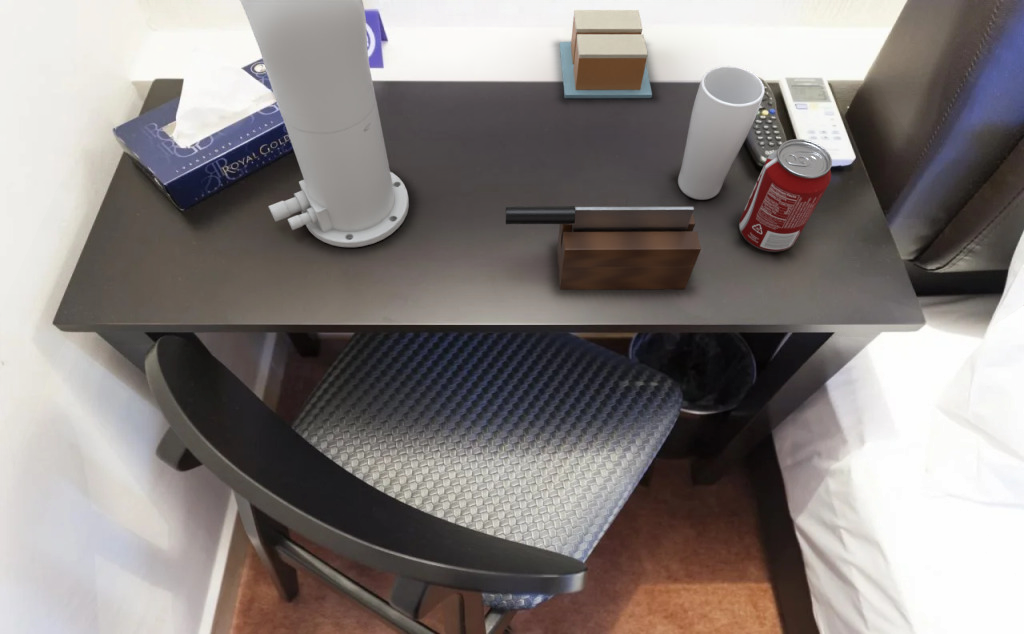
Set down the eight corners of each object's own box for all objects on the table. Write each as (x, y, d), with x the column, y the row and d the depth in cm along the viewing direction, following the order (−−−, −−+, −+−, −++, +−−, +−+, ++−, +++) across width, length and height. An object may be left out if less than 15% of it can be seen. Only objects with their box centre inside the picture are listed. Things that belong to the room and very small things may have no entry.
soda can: (796, 260, 76) (840, 185, 66) (736, 250, 77) (771, 175, 67) (794, 216, 80) (836, 139, 70) (737, 207, 81) (770, 130, 71)
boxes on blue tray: (564, 98, 91) (568, 59, 86) (559, 45, 98) (563, 5, 93) (651, 98, 92) (660, 59, 86) (640, 45, 98) (648, 5, 93)
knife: (679, 239, 73) (692, 201, 68) (681, 252, 72) (695, 214, 67) (505, 240, 72) (505, 202, 67) (505, 253, 71) (505, 215, 66)
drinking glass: (668, 200, 81) (698, 100, 69) (673, 162, 85) (703, 60, 72) (724, 211, 80) (764, 110, 68) (727, 172, 84) (767, 70, 71)
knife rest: (559, 289, 74) (564, 249, 68) (557, 249, 77) (561, 207, 71) (685, 289, 74) (701, 249, 68) (677, 248, 77) (691, 206, 71)
